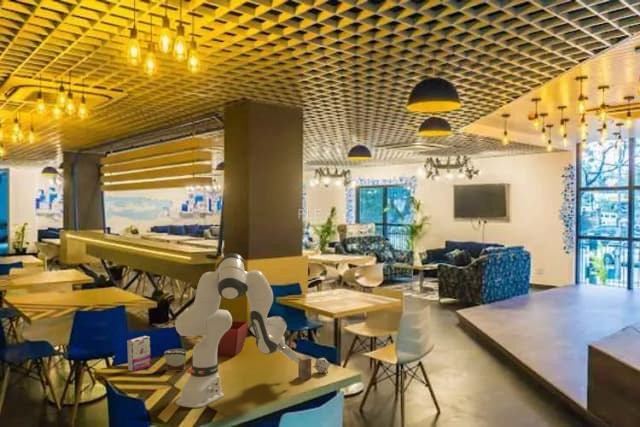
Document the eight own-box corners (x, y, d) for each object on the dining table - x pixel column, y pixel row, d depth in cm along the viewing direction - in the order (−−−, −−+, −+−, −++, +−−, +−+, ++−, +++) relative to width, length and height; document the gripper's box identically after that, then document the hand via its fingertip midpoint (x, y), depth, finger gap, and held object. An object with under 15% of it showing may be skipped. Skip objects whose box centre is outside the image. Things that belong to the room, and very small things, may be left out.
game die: (325, 380, 261) (330, 368, 255) (309, 375, 261) (315, 363, 255) (328, 367, 268) (334, 355, 263) (313, 361, 268) (318, 349, 263)
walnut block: (302, 379, 252) (302, 359, 252) (298, 376, 257) (298, 357, 256) (311, 378, 254) (311, 358, 254) (307, 375, 259) (307, 355, 259)
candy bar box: (145, 364, 278) (145, 335, 278) (151, 366, 275) (150, 336, 275) (127, 370, 269) (126, 339, 269) (132, 372, 266) (132, 341, 266)
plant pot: (237, 358, 287) (237, 329, 287) (206, 357, 291) (205, 328, 290) (249, 349, 306) (248, 321, 305) (219, 347, 310) (219, 320, 309)
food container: (190, 367, 274) (190, 348, 273) (186, 370, 267) (186, 352, 267) (168, 366, 275) (168, 348, 274) (164, 370, 269) (163, 351, 268)
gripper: (287, 341, 239) (306, 359, 243) (273, 332, 258) (291, 348, 262) (278, 352, 237) (298, 370, 242) (265, 341, 256) (283, 358, 260)
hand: (294, 358), depth 252 cm, fingers open, 8 cm apart
